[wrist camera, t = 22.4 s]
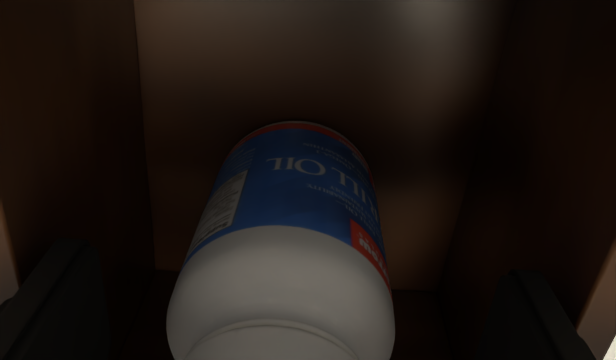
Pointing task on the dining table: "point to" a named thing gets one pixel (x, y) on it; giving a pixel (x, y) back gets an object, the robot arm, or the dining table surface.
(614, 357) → the dining table surface
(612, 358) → the dining table surface
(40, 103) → the chest
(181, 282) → the pill bottle
